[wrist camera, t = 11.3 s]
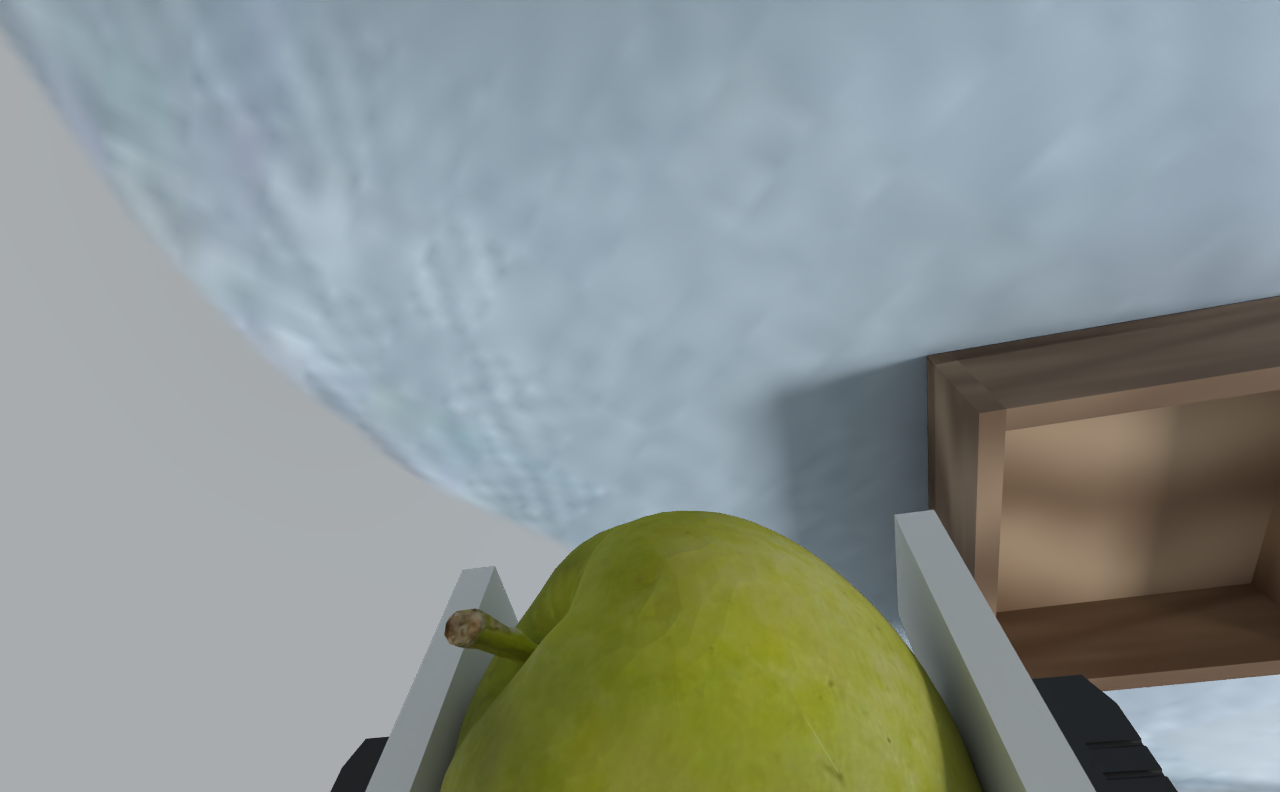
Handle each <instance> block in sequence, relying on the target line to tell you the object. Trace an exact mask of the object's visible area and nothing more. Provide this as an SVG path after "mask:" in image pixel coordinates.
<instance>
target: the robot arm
mask: <svg viewBox="0 0 1280 792" xmlns="http://www.w3.org/2000/svg"><path fill="white" fill-rule="evenodd" d="M894 524H895V549H896V573H897V597H898V614H899V617H900V619H901V622H902V624H903V627H904V629H905V632H906V634H907V637H908V639H909V642H910V644H911V647H912V650H913V652H914V655H915V657H916V658H917V660H918V661H919V662H920V664H921V665H922V667H923V668H924V669H925V671H926V673H927V674H928V676H929V678H930V679H931V681H932V683H933V684H934V686H935V688H936V689H937V691H938V692H939V694H940V696H941V697H942V699H943V701H944V703H945V705H946V707H947V708H948V710H949V712H950V714H951V716H952V718H953V720H954V722H955V724H956V726H957V728H958V730H959V733H960V735H961V737H962V739H963V742H964V744H965V746H966V749H967V751H968V754H969V756H970V759H971V761H972V764H973V766H974V769H975V772H976V774H977V777H978V780H979V783H980V785H981V788H982V791H983V792H1177V790H1176V789H1175V787H1174V786H1173V784H1172V783H1171V781H1170V780H1169V779H1168V777H1167V776H1166V777H1165V776H1164V774H1163V773H1162V768H1161V767H1160V765H1159V764H1158V763H1157V761H1156V760H1155V758H1154V757H1153V755H1152V754H1151V752H1150V751H1149V749H1148V748H1147V747H1146V746H1144V745H1143V744H1142V741H1141V738H1140V736H1139V735H1138V733H1137V732H1136V731H1135V729H1134V728H1133V726H1132V725H1131V723H1130V722H1129V720H1128V719H1127V718H1126V716H1125V715H1124V713H1123V712H1122V710H1121V709H1120V707H1119V706H1118V704H1117V703H1116V702H1114V701H1113V700H1112V699H1111V698H1110V697H1108V696H1107V695H1106V694H1105V693H1103V692H1102V691H1101V690H1100V689H1099V688H1097V687H1096V686H1095V685H1094V684H1092V683H1091V682H1090V681H1089V680H1088V679H1086V678H1085V677H1084V676H1083V675H1071V676H1060V677H1048V678H1037V679H1031V678H1030V676H1029V674H1028V672H1027V671H1026V669H1025V667H1024V665H1023V664H1022V662H1021V660H1020V658H1019V657H1018V655H1017V653H1016V651H1015V650H1014V648H1013V646H1012V645H1011V643H1010V641H1009V639H1008V638H1007V636H1006V634H1005V632H1004V631H1003V629H1002V627H1001V625H1000V624H999V622H998V620H997V618H996V617H995V615H994V613H993V611H992V610H991V608H990V606H989V605H988V603H987V601H986V599H985V598H984V596H983V594H982V592H981V591H980V589H979V587H978V585H977V584H976V582H975V580H974V578H973V577H972V575H971V573H970V571H969V570H968V568H967V566H966V565H965V563H964V561H963V559H962V558H961V556H960V554H959V552H958V551H957V549H956V547H955V545H954V544H953V542H952V540H951V538H950V537H949V535H948V533H947V531H946V530H945V528H944V526H943V525H942V523H941V521H940V519H939V518H938V516H937V514H936V512H935V511H934V510H927V511H919V512H911V513H904V514H896V515H894ZM474 608H475V609H479V610H481V611H483V612H485V613H487V614H488V615H490V616H492V617H493V618H494V619H496V620H497V621H499V622H500V623H502V624H504V625H506V626H508V627H516V625H517V624H518V620H517V618H516V616H515V613H514V611H513V608H512V606H511V604H510V601H509V599H508V596H507V594H506V591H505V589H504V587H503V584H502V582H501V580H500V577H499V575H498V572H497V570H496V567H495V566H490V567H482V568H474V569H467V570H462V573H461V575H460V577H459V579H458V582H457V584H456V586H455V588H454V591H453V593H452V595H451V598H450V600H449V602H448V604H447V607H446V609H445V611H444V613H443V616H442V618H441V620H440V623H439V625H438V627H437V629H436V632H435V634H434V636H433V638H432V641H431V643H430V646H429V648H428V650H427V652H426V654H425V657H424V659H423V661H422V664H421V666H420V668H419V671H418V673H417V675H416V677H415V680H414V682H413V684H412V686H411V689H410V691H409V693H408V695H407V698H406V700H405V702H404V704H403V707H402V709H401V711H400V714H399V716H398V718H397V720H396V723H395V725H394V727H393V730H392V732H391V734H390V736H389V737H382V738H370V739H365V741H364V742H363V743H362V744H361V746H360V747H359V748H358V749H357V750H356V752H355V753H354V754H353V755H352V756H351V758H350V759H349V760H348V761H347V762H346V764H345V765H344V766H343V767H342V769H341V771H340V773H339V775H338V777H337V780H336V782H335V784H334V785H333V788H332V790H331V792H440V790H441V786H442V782H443V779H444V776H445V773H446V771H447V769H448V767H449V765H450V763H451V761H452V759H453V757H454V753H455V749H456V745H457V740H458V736H459V733H460V729H461V726H462V722H463V719H464V716H465V714H466V712H467V710H468V707H469V705H470V703H471V700H472V698H473V696H474V693H475V691H476V689H477V686H478V684H479V682H480V680H481V678H482V677H483V675H484V673H485V671H486V669H487V668H488V666H489V664H490V662H491V660H492V659H493V657H494V655H493V654H490V653H487V652H484V651H481V650H478V649H465V648H461V647H457V646H454V645H451V644H449V642H448V640H447V638H446V637H445V635H444V633H445V626H446V622H447V620H448V618H449V617H450V616H451V615H452V614H453V613H455V612H456V611H460V610H467V609H474Z"/></svg>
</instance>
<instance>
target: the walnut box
mask: <svg viewBox="0 0 1280 792" xmlns="http://www.w3.org/2000/svg"><path fill="white" fill-rule="evenodd" d="M927 412H928V492H929V510H934V511H935V512H936V514H937V516H938V518H939V519H940V521H941V523H942V525H943V526H944V528H945V530H946V531H947V533H948V535H949V537H950V538H951V540H952V542H953V544H954V545H955V547H956V549H957V551H958V552H959V554H960V556H961V558H962V559H963V561H964V563H965V565H966V566H967V568H968V570H969V571H970V573H971V575H972V577H973V578H974V580H975V582H976V584H977V585H978V587H979V589H980V591H981V592H982V594H983V596H984V598H985V599H986V601H987V603H988V605H989V606H990V608H991V610H992V611H993V613H994V615H995V617H996V618H997V620H998V622H999V624H1000V625H1001V627H1002V629H1003V631H1004V632H1005V634H1006V636H1007V638H1008V639H1009V641H1010V643H1011V645H1012V646H1013V648H1014V650H1015V651H1016V653H1017V655H1018V657H1019V658H1020V660H1021V662H1022V664H1023V665H1024V667H1025V669H1026V671H1027V672H1028V674H1029V676H1030V678H1031V679H1037V678H1048V677H1060V676H1071V675H1083V676H1084V677H1085V678H1086V679H1088V680H1089V681H1090V682H1091V683H1092V684H1094V685H1095V686H1096V687H1097V688H1099V689H1100V690H1101V691H1111V690H1121V689H1132V688H1142V687H1152V686H1163V685H1173V684H1184V683H1194V682H1205V681H1215V680H1226V679H1236V678H1246V677H1257V676H1267V675H1278V674H1280V296H1277V297H1271V298H1265V299H1260V300H1254V301H1248V302H1242V303H1236V304H1230V305H1224V306H1218V307H1212V308H1206V309H1201V310H1195V311H1189V312H1183V313H1177V314H1171V315H1165V316H1159V317H1153V318H1147V319H1141V320H1136V321H1130V322H1124V323H1118V324H1112V325H1106V326H1100V327H1094V328H1088V329H1082V330H1077V331H1071V332H1065V333H1059V334H1053V335H1047V336H1041V337H1035V338H1029V339H1023V340H1017V341H1012V342H1006V343H1000V344H994V345H988V346H982V347H976V348H970V349H964V350H958V351H953V352H947V353H941V354H935V355H929V356H927Z"/></svg>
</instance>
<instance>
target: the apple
mask: <svg viewBox="0 0 1280 792" xmlns="http://www.w3.org/2000/svg"><path fill="white" fill-rule="evenodd" d="M444 635H445V637H446V638H447V640H448V642H449V644H451V645H454V646H457V647H461V648H465V649H478V650H481V651H484V652H487V653H490V654H493V655H494V657H493V659H492V660H491V662H490V664H489V666H488V668H487V669H486V671H485V673H484V675H483V677H482V678H481V680H480V682H479V684H478V686H477V689H476V691H475V693H474V696H473V698H472V700H471V703H470V705H469V707H468V710H467V712H466V714H465V716H464V719H463V722H462V726H461V729H460V733H459V736H458V740H457V745H456V749H455V753H454V757H453V759H452V761H451V763H450V765H449V767H448V769H447V771H446V773H445V776H444V779H443V782H442V786H441V790H440V792H983V791H982V788H981V785H980V783H979V780H978V777H977V774H976V772H975V769H974V766H973V764H972V761H971V759H970V756H969V754H968V751H967V749H966V746H965V744H964V742H963V739H962V737H961V735H960V733H959V730H958V728H957V726H956V724H955V722H954V720H953V718H952V716H951V714H950V712H949V710H948V708H947V707H946V705H945V703H944V701H943V699H942V697H941V696H940V694H939V692H938V691H937V689H936V688H935V686H934V684H933V683H932V681H931V679H930V678H929V676H928V674H927V673H926V671H925V669H924V668H923V667H922V665H921V664H920V662H919V661H918V660H917V658H916V657H915V655H914V654H913V653H912V651H911V650H910V649H909V647H908V646H907V645H906V643H905V642H904V641H903V640H902V638H901V637H900V636H899V635H898V633H897V632H896V631H895V630H894V628H893V627H892V626H891V625H890V624H889V622H888V621H887V620H886V619H885V618H884V617H883V616H882V615H881V613H880V612H879V611H878V610H877V609H876V608H875V607H874V606H873V605H872V604H871V603H870V602H869V601H868V600H867V599H866V598H865V597H864V596H863V595H862V594H861V593H860V592H859V591H858V590H857V589H855V588H854V587H853V586H852V585H851V584H850V583H849V582H848V581H847V580H846V579H844V578H843V577H842V576H841V575H840V574H838V573H837V572H836V571H835V570H833V569H832V568H831V567H830V566H829V565H827V564H826V563H825V562H823V561H822V560H821V559H819V558H818V557H816V556H815V555H814V554H812V553H811V552H809V551H808V550H806V549H805V548H804V547H802V546H800V545H799V544H797V543H795V542H794V541H792V540H790V539H788V538H786V537H784V536H782V535H780V534H778V533H776V532H775V531H772V530H770V529H768V528H765V527H763V526H761V525H758V524H756V523H754V522H752V521H748V520H745V519H742V518H739V517H735V516H731V515H726V514H722V513H716V512H705V511H672V512H662V513H658V514H654V515H650V516H645V517H643V518H640V519H637V520H634V521H632V522H629V523H626V524H622V525H619V526H616V527H614V528H611V529H608V530H606V531H603V532H601V533H598V534H597V535H595V536H593V537H592V538H590V539H588V540H587V541H585V542H583V543H582V544H581V545H579V546H578V547H577V548H576V549H574V550H573V551H572V552H571V553H570V554H569V555H568V556H567V557H566V559H564V560H563V562H562V563H561V564H560V565H559V566H558V567H557V568H556V569H555V570H554V572H553V573H552V575H551V576H550V578H549V579H548V581H547V582H546V584H545V585H544V587H543V588H542V590H541V592H540V593H539V594H538V596H537V597H536V599H535V600H534V602H533V603H532V605H531V606H530V608H529V609H528V610H527V612H526V613H525V615H524V616H523V618H522V619H521V620H520V621H519V623H518V624H517V625H516V627H508V626H506V625H504V624H502V623H500V622H499V621H497V620H496V619H494V618H493V617H492V616H490V615H488V614H487V613H485V612H483V611H481V610H479V609H475V608H474V609H467V610H460V611H456V612H455V613H453V614H452V615H451V616H450V617H449V618H448V620H447V622H446V626H445V633H444Z"/></svg>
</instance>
